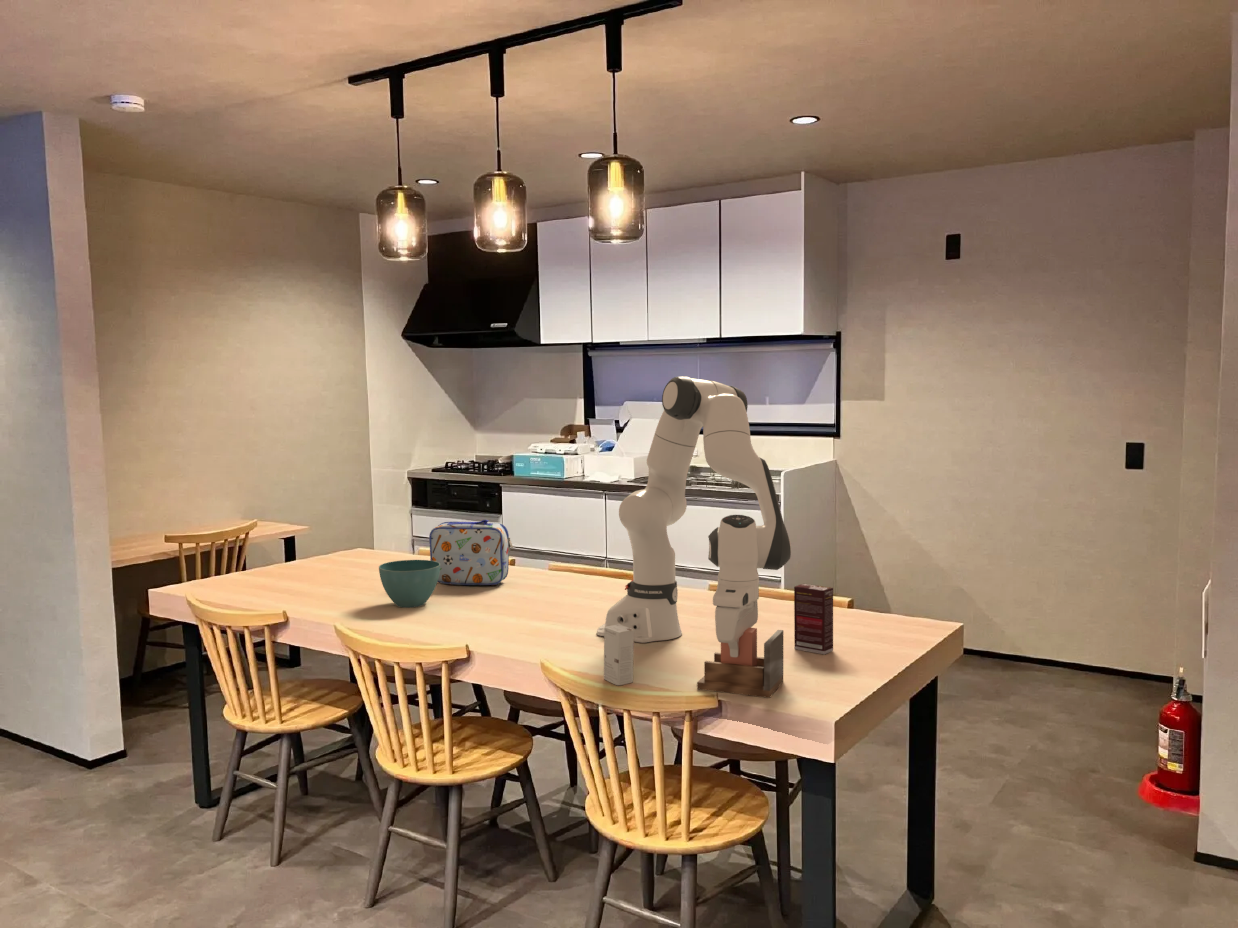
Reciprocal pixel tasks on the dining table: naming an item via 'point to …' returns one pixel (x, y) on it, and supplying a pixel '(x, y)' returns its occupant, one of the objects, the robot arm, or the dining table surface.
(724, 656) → the red book
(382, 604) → the dining table surface
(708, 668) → the book rack
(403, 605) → the green bowl
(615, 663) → the skincare box
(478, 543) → the lunch box
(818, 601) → the supplement box
